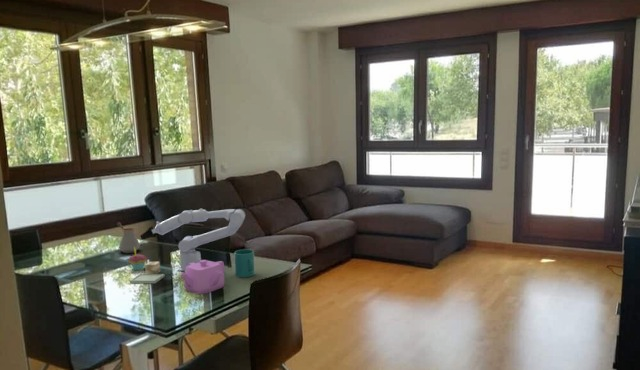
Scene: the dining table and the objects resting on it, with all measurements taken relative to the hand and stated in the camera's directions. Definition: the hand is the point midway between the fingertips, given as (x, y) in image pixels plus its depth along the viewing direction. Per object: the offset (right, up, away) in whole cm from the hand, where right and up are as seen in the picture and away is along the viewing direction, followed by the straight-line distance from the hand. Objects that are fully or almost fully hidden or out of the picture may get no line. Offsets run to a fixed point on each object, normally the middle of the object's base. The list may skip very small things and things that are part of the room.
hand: (144, 236), depth 231 cm
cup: (+52, -17, -10) cm, 55 cm away
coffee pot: (-26, -12, +43) cm, 52 cm away
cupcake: (-5, -17, +5) cm, 18 cm away
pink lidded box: (+36, -20, -27) cm, 49 cm away
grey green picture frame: (+6, -18, -13) cm, 23 cm away
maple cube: (+5, -17, -3) cm, 18 cm away
